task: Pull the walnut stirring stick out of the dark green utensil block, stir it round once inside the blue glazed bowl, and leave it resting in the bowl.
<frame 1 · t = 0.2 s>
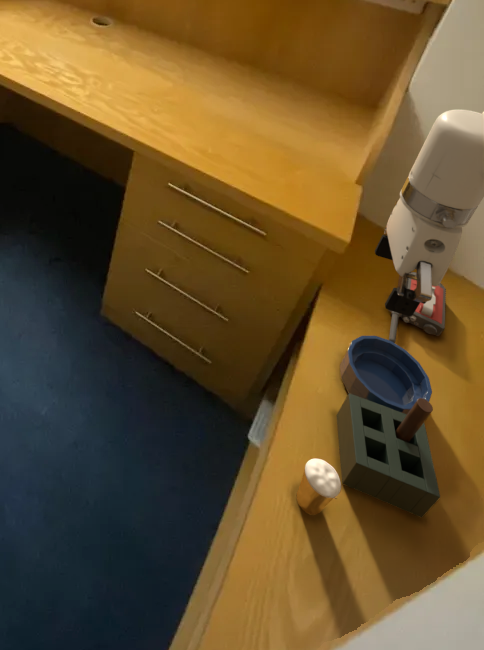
hand: (391, 282, 74), 30 cm above the table, tool pointing down, fingers open, 9 cm apart
holder: (375, 462, 80), on the table
stick: (389, 453, 81), resting in holder
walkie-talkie: (413, 316, 101), on the table
bowl: (377, 387, 90), on the table
beer glass: (308, 505, 76), on the table
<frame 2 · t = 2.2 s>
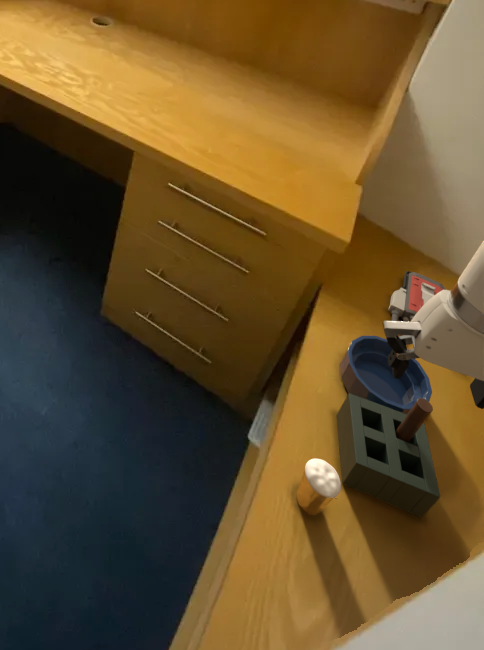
hand: (434, 382, 71), 20 cm above the table, tool pointing down, fingers open, 9 cm apart
nothing on the table moved.
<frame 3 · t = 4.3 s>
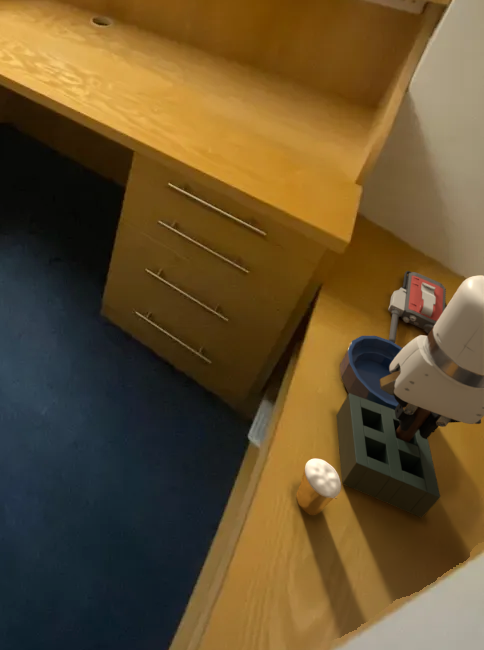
hand: (411, 423, 76), 10 cm above the table, tool pointing down, fingers closed on stick, 2 cm apart
stick: (389, 453, 81), resting in holder, touching gripper
everything else where it was.
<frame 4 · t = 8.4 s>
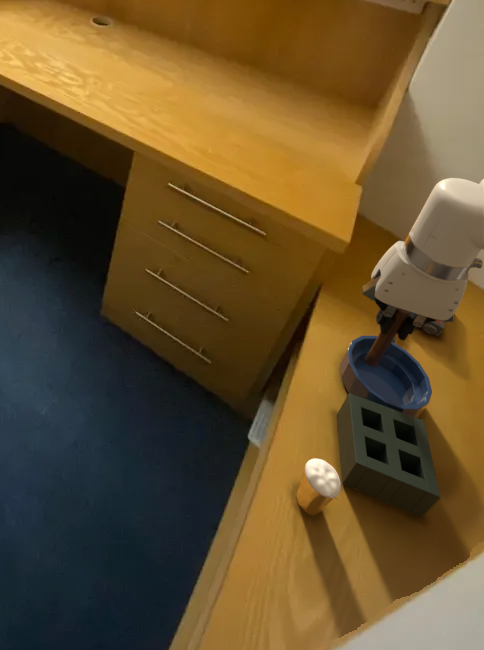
hand: (391, 328, 83), 16 cm above the table, tool pointing down, fingers closed on stick
stick: (371, 361, 88), point 6 cm above the table, touching gripper
everything else where it was.
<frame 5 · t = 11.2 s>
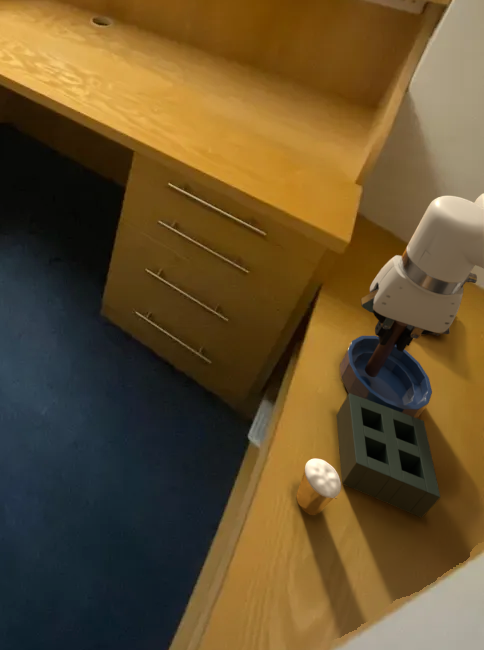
hand: (389, 339, 85), 12 cm above the table, tool pointing down, fingers closed on stick, 2 cm apart
stick: (370, 371, 90), point 2 cm above the table, touching gripper
everything else where it was.
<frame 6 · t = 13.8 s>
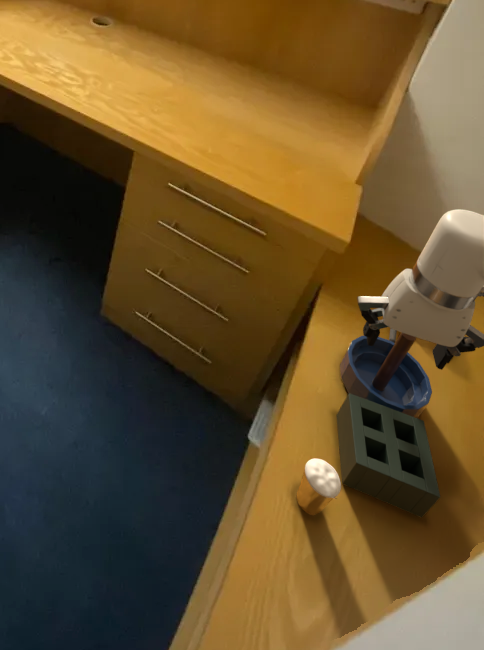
hand: (402, 349, 84), 12 cm above the table, tool pointing down, fingers open, 9 cm apart
stick: (378, 385, 89), point 1 cm above the table, touching bowl
everything else where it was.
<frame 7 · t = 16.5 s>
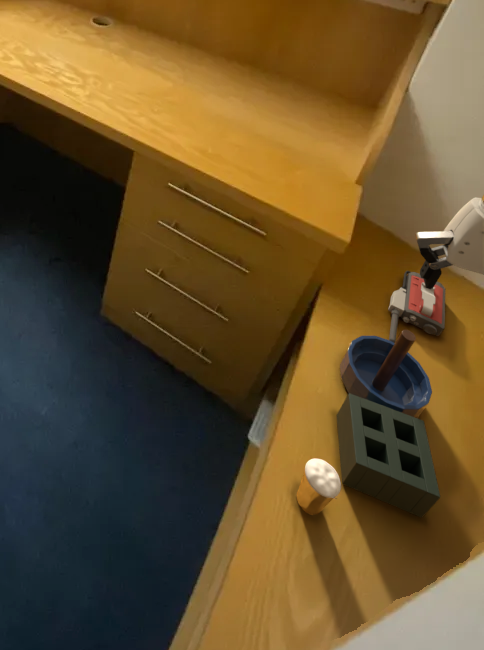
hand: (465, 292, 75), 28 cm above the table, tool pointing down, fingers open, 9 cm apart
nothing on the table moved.
at the end: stick inside the target area in the bowl (0.1 cm from its centre), point 0.6 cm above the bowl's base; the gripper is holding nothing; stick moved 10.8 cm from its start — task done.
